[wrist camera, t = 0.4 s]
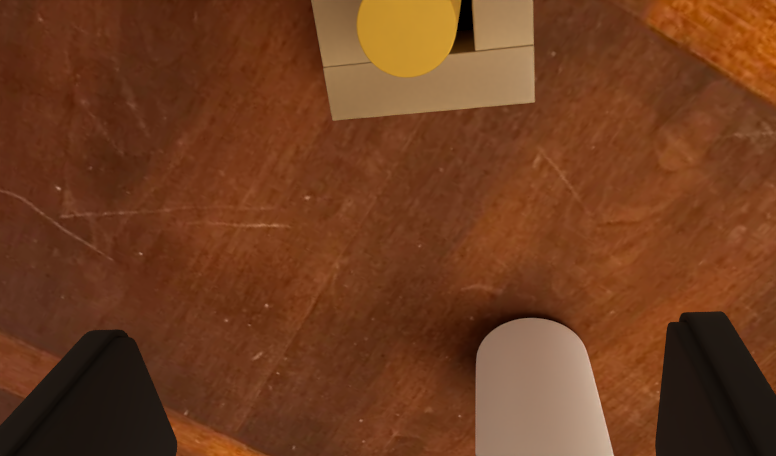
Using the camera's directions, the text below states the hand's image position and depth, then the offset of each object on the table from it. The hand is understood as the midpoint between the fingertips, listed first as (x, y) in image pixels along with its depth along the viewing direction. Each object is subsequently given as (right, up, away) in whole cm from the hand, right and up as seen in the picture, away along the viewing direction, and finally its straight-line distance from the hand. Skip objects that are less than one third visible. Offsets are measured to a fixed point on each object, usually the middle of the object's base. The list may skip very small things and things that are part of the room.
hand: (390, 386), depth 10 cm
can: (+8, -5, +25) cm, 27 cm away
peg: (+2, +13, +16) cm, 21 cm away
